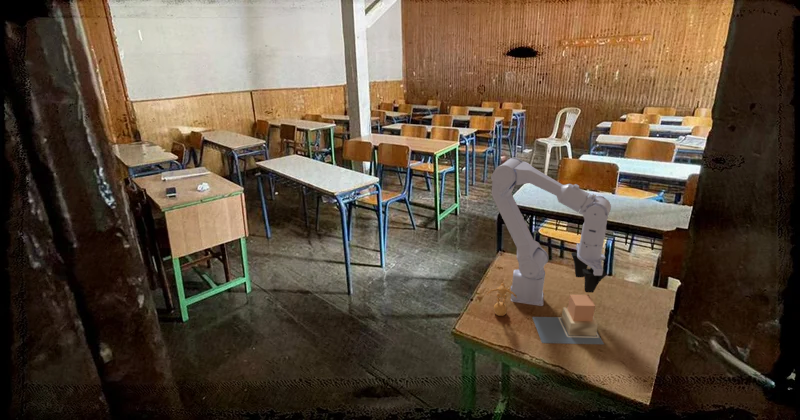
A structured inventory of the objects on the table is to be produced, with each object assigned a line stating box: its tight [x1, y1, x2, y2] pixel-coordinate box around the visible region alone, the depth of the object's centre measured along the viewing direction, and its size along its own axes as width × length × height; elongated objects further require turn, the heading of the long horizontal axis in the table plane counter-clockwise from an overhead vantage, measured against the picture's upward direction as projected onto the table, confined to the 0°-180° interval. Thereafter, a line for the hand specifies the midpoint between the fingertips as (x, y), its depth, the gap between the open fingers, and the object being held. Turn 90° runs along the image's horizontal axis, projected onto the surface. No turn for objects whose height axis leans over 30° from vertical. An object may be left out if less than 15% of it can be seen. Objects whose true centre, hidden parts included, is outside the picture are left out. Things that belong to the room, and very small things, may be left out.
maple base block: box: [561, 306, 599, 336], centre depth 114 cm, size 7×7×4 cm
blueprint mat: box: [532, 316, 605, 345], centre depth 114 cm, size 16×11×1 cm
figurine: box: [486, 282, 517, 317], centre depth 118 cm, size 8×6×12 cm
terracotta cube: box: [567, 293, 596, 321], centre depth 112 cm, size 5×5×5 cm
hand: (584, 284), depth 117 cm, fingers open, 7 cm apart
